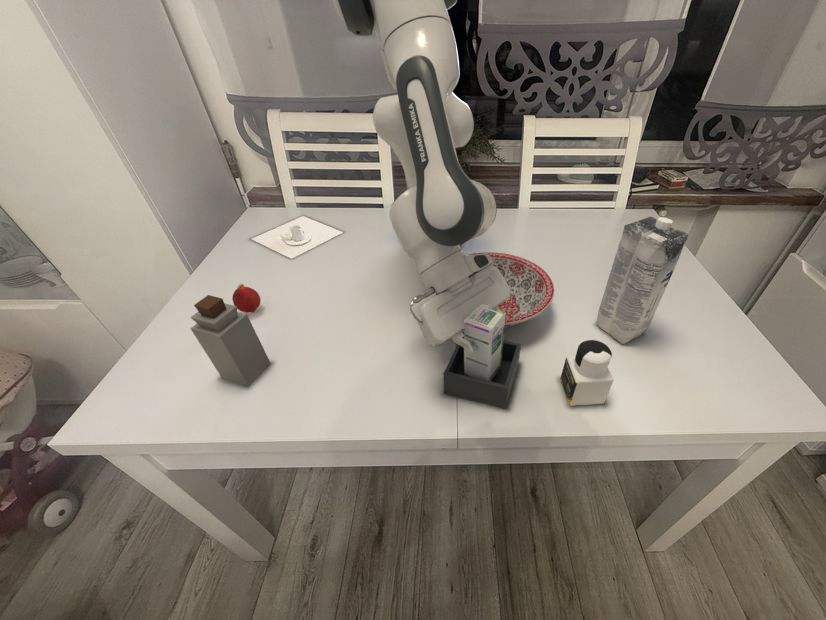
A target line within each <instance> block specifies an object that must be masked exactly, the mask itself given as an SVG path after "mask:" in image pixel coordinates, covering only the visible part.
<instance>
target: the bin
mask: <svg viewBox="0 0 826 620" xmlns="http://www.w3.org/2000/svg"><path fill="white" fill-rule="evenodd" d="M462 332H463V334H464V331H462ZM462 338H464V336H463V337H462ZM521 348H522V343H519V342H514V341H509V340H504V339H503V350H502V362H501V367H500V369H499V370H498V372H497V373H496V375H495V376H494V377H493V379H492V380H491V381H486V380H482V379H477V378H473V377H470V376H468V375H466V374H464V348H463V347H462V346H460V345H458V344H456V345H455V347H454V349H453V352H452V354H451V355H450V358H449V361H448V363H447V365H446V367H445V369H444V372H443V374H442V375H443V376H442V377H443V394H444V395H447V396H450V397H451V396H452V397H456V398H460V399H463V400H468V401H471V402H476V403H480V404H484V405H488V406H493V407H497V408H500V409H505V410H506V409H507V406H508V402H509V399H510V396H511V391H512V388H513V384H514V381H515V378H516V374H517V371H518V367H519V362H520V355H521Z"/></svg>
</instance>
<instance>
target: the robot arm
mask: <svg viewBox="0 0 826 620" xmlns="http://www.w3.org/2000/svg"><path fill="white" fill-rule="evenodd" d="M331 1H332V4H333V7H334V9H335V11H336V14H337V15H338V17H339V18H340V20H341V22H342V24H344V25H345V26H346V27H347V29H346V30H347V31H349V32H351V33H352V34H353V35H355V36H360V37H370V36H373V34H375V38H376V43H377V44H378V48H379V52H380V56H381V59H382V63H383V67H384V70H385V73H386V77H387V80H388V82H389V83H390V85H391V86H392V88H393V89H394V90H395V91H396V93H397V94H393V95H388V96H383V97H380V98H379V99H378V100H377V102H376V104H375V105H374V108H373V111H372V112H373V113H372V120H373V126H374V129H375V131H376V134H377V136H378V137H379V138H380V139H381V140H382V141H384V143H386V144H387V146H389V147H390V148H391V149H392V151H393V152H394V154H395V156H396V157H397V158H398V160H399V162H400V164H401V166H402V169H403V171H404V172H403V173H404V176H405V183H406V189H405V190H404V191H402V192H401V193H400V194H399V195H398V196H397V197H396V198H395V200H393V202H392V203H391V206H390V208H389V212H388V215H389V221H390V223H391V226H392V228H393V230H394V232H395V235H396V237H397V239H398V241H399V242H400V244H401V246H402V248H403V250H404V251H405V253H406V254H407V256H408V257H409V258H410V259H412V261H413V262H414V264H415V266H416V268H417V272H418V274H419V276H420V278H421V280H422V281H423V283H424V286H426V288H427V289H425V290H424V291H422V293H420V294H416V295H415V296H414V297H413V298H412V299H411V300H412V301H411V302H410V304H409V311H410V313H411V315H412V316H413V318H414V319H415V320H416V322H417V323H418V327H419V329H420V331H421V333H422V335H423V337H424V339H425V341H426V342H427V344H429V345H430V346H433V347H437V346H440V345H442V344H444V343H445V342H446V341H448V340H450V339H451V340H452V342H453V343H454V344H456V345H457V344H458V345H460V346H462V347H463V348H464V350H465V351H466V353H467V354H472V353H473V352H474V351H476V350H477V347H476V346H475V343H474V341H472V342H468V341H467V340H465V339H464V338H462V337H463V336H464V334H463V332H464V328H465V327H466V325H465V323H464V319H465V318H466V317H467V316H468V315H470V314H471V313H472V311H473V310H475V309H476V308H477V307H479V306H480V305H481V304H485V305H488V306H492V307H494V308H497V309H499V308H498V307H497V306H498V305H499V304H501V303H502V302H503V301H505V300H506V299H508V298H509V297H510V288H509V286H508V284H507V282H506V281H505V279H504V277H503V276H502V274H501V273H500V271H499V270H498V269H497V268H496V267H495V266H493V265H490V264H491V263H492V259H491V257H490V255H489V254H487V253H484V252H482V253H483V254H474V255H468V254H465V253H464V252H463V250H462V249H461V245H463V244H465V243H466V242H468V241H470V240H473V239H475V238H478V237H481V236H483V235H484V234H486V233H487V231H488V230H490V228H492V225H493V224H494V222H495V221H496V217H497V210H498V208H497V206H498V205H497V201H496V198H495V195H494V194H493V192H492V191H491V189H490V188H489V187H487V186H486V185H484V184H482V183H481V182H478V181H476V180H474V179H470V178H469V177H468V175H467V174H466V173H465V171H464V170H463V168H462V166H461V165H460V162H459V159H458V155H457V150H456V149H459V148H463V147H465V146H466V145H467V144H468V143H469V141H470V140H471V138H472V135H473V134H474V133H473V132H474V127H475V125H474V124H475V121H474V120H475V119H474V115H473V112H472V110H471V108H470V107H469V105H468V103H466V102H465V101H463V100H461V99H460V98H459V97H458V96H457V95H456V94H455V93H454V90H455V88H456V87H457V85H458V82H459V79H460V74H461V73H460V61H459V54H458V53H459V52H458V47H457V42H456V37H455V33H454V30H453V29H454V28H453V26H452V22H451V18H450V16H449V12H448V10H450V9H451V8H453V6H455V5H456V4H457V2H458V0H331ZM488 265H489V266H488ZM438 294H439V295H438Z"/></svg>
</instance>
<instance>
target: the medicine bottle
mask: <svg viewBox="0 0 826 620" xmlns="http://www.w3.org/2000/svg"><path fill="white" fill-rule="evenodd" d="M612 357H613V352H612V350H611V349H610V347H609V346H608V345H607V344H606V343H604V342H602V341H600V340H596V339H587V340H584V341H582V342H581V343H579V344H578V346H577V349H576V353H575V354H572V355H566V357H565V360H564V363H563V367H562V371H561V375H560V383H561V385H562V389H563V391H564V395H565V397H566V400H567V403H568V405H569V406H571V407H572V406H586V405H587V406H589V405H603V404H605V402H606V399H607V398H608V395H609V392H610V390H611V388H612V385H613V384H614V378H613V376H612V374H611V371H610V369H609V365H610V362H611V360H612Z"/></svg>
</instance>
